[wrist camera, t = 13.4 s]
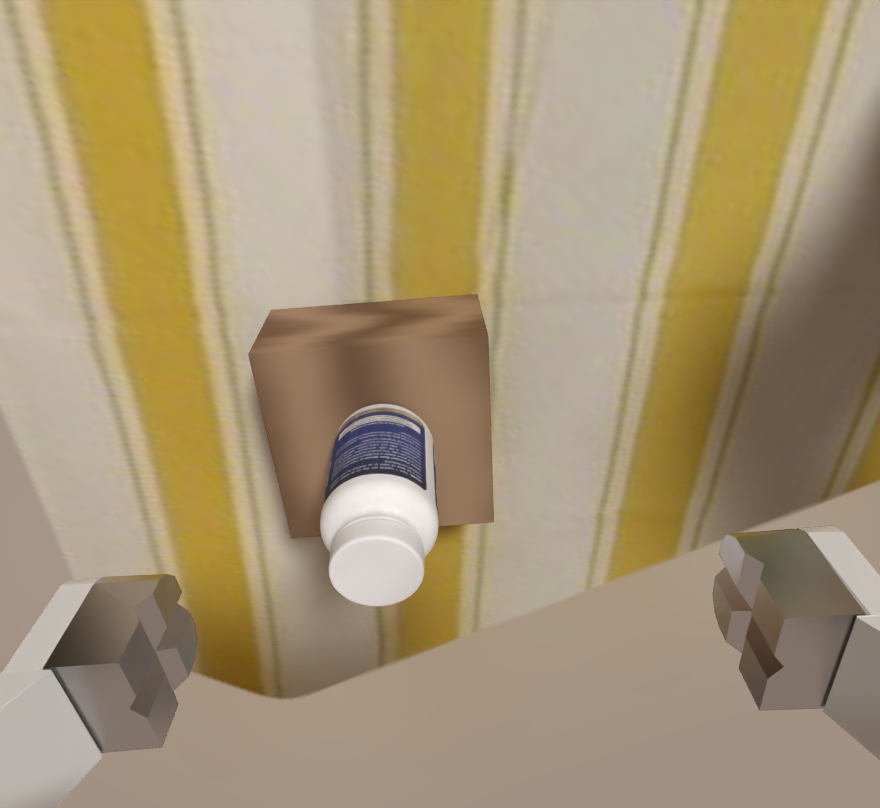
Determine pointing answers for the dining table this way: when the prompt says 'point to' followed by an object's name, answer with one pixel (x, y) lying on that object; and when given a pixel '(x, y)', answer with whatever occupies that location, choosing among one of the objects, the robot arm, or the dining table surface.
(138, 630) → the robot arm
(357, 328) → the walnut riser
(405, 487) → the pill bottle
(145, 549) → the dining table surface
